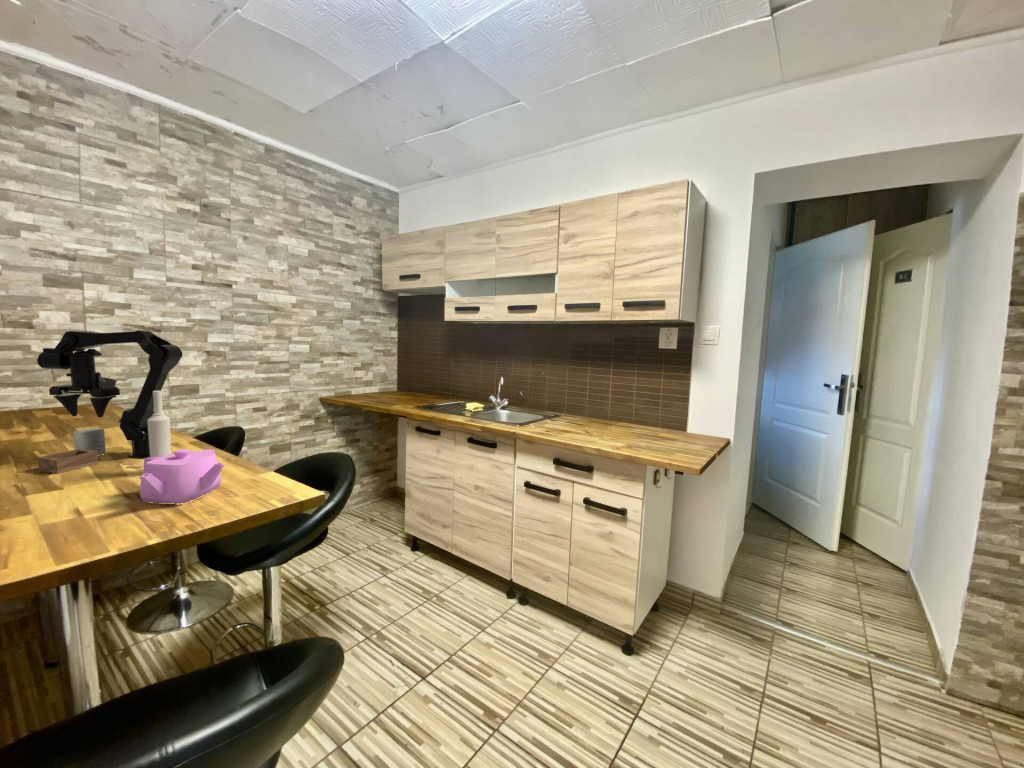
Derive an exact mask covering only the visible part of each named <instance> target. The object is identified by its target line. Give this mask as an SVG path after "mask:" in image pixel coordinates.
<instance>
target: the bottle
mask: <svg viewBox="0 0 1024 768" xmlns="http://www.w3.org/2000/svg"><path fill="white" fill-rule="evenodd" d="M153 399H154V409H153V411H154V413H153V416H151V417H150V418H149V419H148V420H147V423H148V436H149V448H150V457H162V456H165V455H169V454H172V453H171V449H172V447H171V418H170V417H169V416H167V415H166V414H165V413H164V411H163V391H162V390H161V391H153Z"/></svg>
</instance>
